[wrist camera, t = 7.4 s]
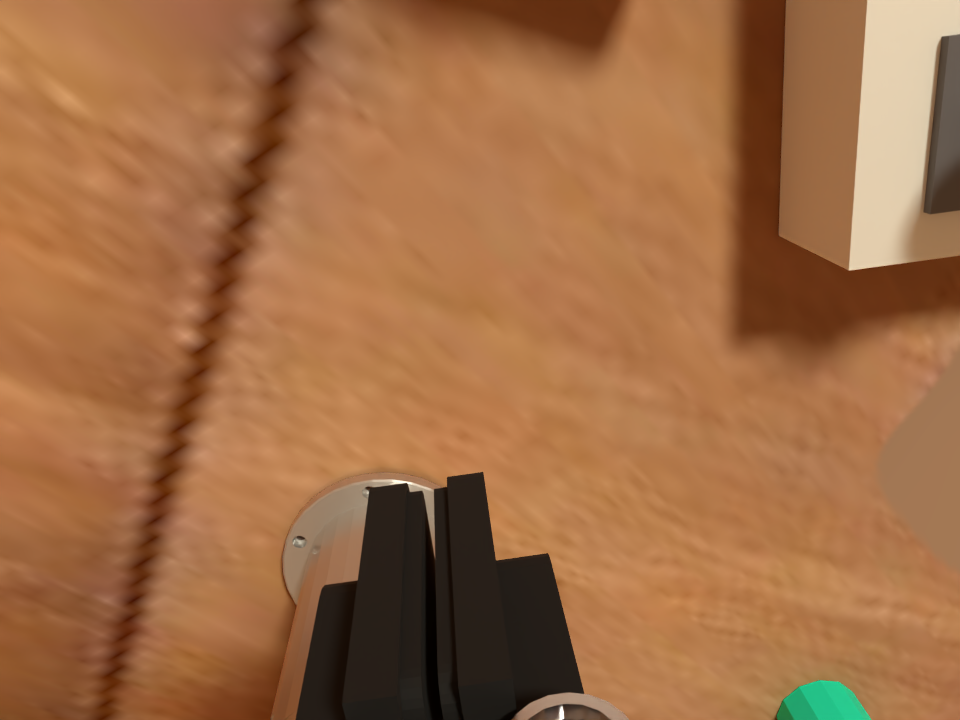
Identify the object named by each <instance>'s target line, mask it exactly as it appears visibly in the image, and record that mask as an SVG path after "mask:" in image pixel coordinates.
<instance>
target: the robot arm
mask: <svg viewBox="0 0 960 720" xmlns="http://www.w3.org/2000/svg"><path fill="white" fill-rule="evenodd" d="M367 486H371V487H372V488H369V487H367ZM282 558H283V575H284V579H285V583H286V586H287V589H288V591H289V593H290V595H291V597H292V599H293V601H294V603H295V604H296V605H297V607H296V611H295V616H294V620H293V624H292V628H291V633H290V637H289V641H288V645H287V650H286V654H285V658H284V662H283V667H282V671H281V675H280V679H279V684H278V688H277V692H276V697H275V701H274V705H273V709H272V714H271V718H270V720H629V719H628V718H627V717H626V715H625V714H624V713H623V712H621V711H620V710H619V709H617V708H616V707H614V706H613V705H612V704H610V703H609V702H607V701H605V700H602V699H599V698H597V697H594V696H591V695H588V694H584V691H583V687H582V683H581V679H580V675H579V671H578V667H577V663H576V659H575V655H574V651H573V647H572V643H571V639H570V635H569V631H568V628H567V624H566V620H565V616H564V612H563V608H562V604H561V600H560V596H559V592H558V588H557V584H556V580H555V576H554V572H553V568H552V564H551V560H550V557H549V555H548V553H547V554H540V555H533V556H526V557H519V558H512V559H505V560H498V561H496V559H495V552H494V545H493V538H492V531H491V524H490V517H489V510H488V503H487V496H486V489H485V482H484V475H483V472H480V473H473V474H466V475H459V476H452V477H447V487H444V488H442V487H440V486H439V485H436V484H434V483H432V482H430V481H427V480H425V479H423V478H419V477H415V476H411V475H406V474H401V473H386V472H381V473H371V474H362V475H358V476H355V477H351V478H347V479H344V480H342V481H340V482H338V483H335V484H333V485H331V486H329V487H327V488H325V489H324V490H323V491H321V492H320V493H319V494H317V495H316V496H314V497H313V498H312V499H311V500H310V501H309V502H308V503H307V504H306V505H305V506H304V507H303V508H302V509H301V510H300V512H299V513H298V515H297V517H296V518H295V520H294V522H293V523H292V525H291V527H290V530H289V533H288V536H287V539H286V542H285V547H284V552H283V557H282Z"/></svg>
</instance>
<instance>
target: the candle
mask: <svg viewBox="0 0 960 720" xmlns="http://www.w3.org/2000/svg"><path fill="white" fill-rule="evenodd" d="M777 719H778V720H871V718H870V717H869V715H868V714H867V712H866V711H865V709H864V708H863V706H862V705H861V703H860V702H859V701H858V699H857V698H856V696H855V695H854V693H853V692H852V691H851V690H850V689H848V688H847V687H845V686H844V685H843V684H841V683H840V682H834V681H823V680H819V681H816V682H813V683H809V684H806V685H803V686H800V687H798V688H797V689H796V690H795V691H793V692H792V693H791V694H790V695H789V696H787V697H786V698H785V699H784V700H783V702H782V704H781V706H780V709H779V711H778V713H777Z"/></svg>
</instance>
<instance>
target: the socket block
mask: <svg viewBox="0 0 960 720" xmlns="http://www.w3.org/2000/svg"><path fill="white" fill-rule="evenodd" d="M779 236H780V237H782V238H784V239H786V240H788V241H790V242H792V243H794V244H796V245H798V246H800V247H802V248H804V249H806V250H808V251H810V252H812V253H814V254H816V255H818V256H820V257H822V258H824V259H826V260H828V261H830V262H832V263H834V264H836V265H838V266H840V267H842V268H844V269H846V270H849V271H850V270H857V269H865V268H872V267H880V266H887V265H894V264H902V263H909V262H916V261H924V260H931V259H938V258H946V257H953V256H960V0H786V16H785V48H784V79H783V111H782V143H781V174H780V206H779Z"/></svg>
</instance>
